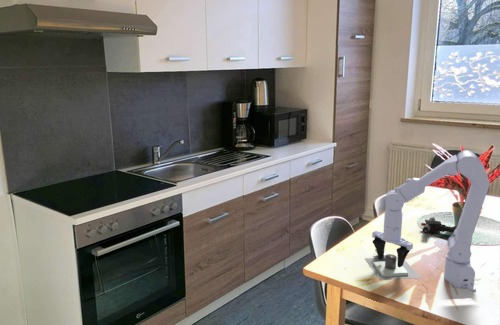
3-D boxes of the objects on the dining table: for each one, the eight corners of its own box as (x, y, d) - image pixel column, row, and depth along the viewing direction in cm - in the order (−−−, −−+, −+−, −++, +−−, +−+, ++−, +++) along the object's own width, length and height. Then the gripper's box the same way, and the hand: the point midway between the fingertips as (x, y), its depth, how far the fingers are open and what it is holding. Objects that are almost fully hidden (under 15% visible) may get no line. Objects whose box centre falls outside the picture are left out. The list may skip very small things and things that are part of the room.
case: (420, 281, 147) (421, 274, 146) (379, 283, 146) (379, 276, 145) (401, 260, 162) (401, 254, 162) (364, 262, 162) (364, 255, 161)
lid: (408, 275, 148) (409, 261, 147) (382, 276, 148) (382, 262, 147) (397, 263, 157) (398, 250, 156) (373, 264, 156) (373, 251, 155)
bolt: (386, 257, 159) (387, 245, 158) (379, 257, 159) (380, 246, 158) (381, 250, 164) (381, 239, 163) (374, 251, 164) (375, 239, 163)
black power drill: (462, 219, 191) (426, 213, 198) (457, 229, 174) (417, 223, 182) (461, 231, 192) (425, 225, 199) (456, 242, 175) (416, 235, 183)
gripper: (418, 228, 146) (415, 266, 149) (381, 217, 157) (379, 252, 160) (407, 234, 141) (404, 272, 144) (369, 221, 152) (367, 257, 155)
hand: (390, 262), depth 152 cm, fingers open, 7 cm apart
